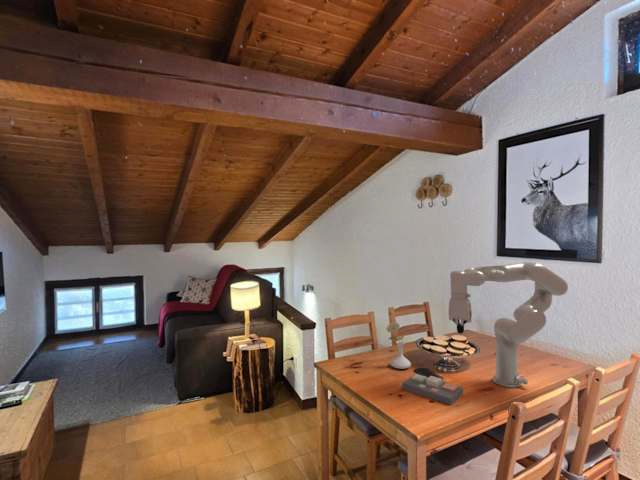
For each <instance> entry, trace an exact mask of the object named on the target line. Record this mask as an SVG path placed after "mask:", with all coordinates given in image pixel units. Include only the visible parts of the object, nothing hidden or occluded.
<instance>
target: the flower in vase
mask: <svg viewBox="0 0 640 480" xmlns="http://www.w3.org/2000/svg"><path fill="white" fill-rule="evenodd" d="M400 328H401V326H400V323H399V322H397V321H394V322H391V323H389V324H388V325H387V327H386V331H387V332H388V333H390V334H391V333H394V334H395V336H390V337H389V338H388V340H391V341H394V340H395V339H396V341H395V343H396V346H397V355H396V356H395V357H393V358H391V360H389V361H390V362H389V364H390V366H391V367H392V368H395V369H399V370H400V369H401V370H406V369H408V368H410V367H411V366H412V363H411V361H410V360H409V359H407V358H406V357H405V356H404V354H403V347H404V345H405V343H406V341H403V339H404V337H405V334H403V335H401V336H399V337H397V334H396V332H398V330H399V329H400Z"/></svg>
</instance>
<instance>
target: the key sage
mask: <svg viewBox="0 0 640 480" xmlns="http://www.w3.org/2000/svg"><path fill="white" fill-rule="evenodd" d="M415 374H416V375H415ZM415 374H414V375H412V376H413V377H412V376H411V377H412V380H414V381H417V382H420V383H423V382H425V381H426V379H427V377H425V376H422V375H418V373H415Z"/></svg>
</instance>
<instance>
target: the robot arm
mask: <svg viewBox="0 0 640 480" xmlns="http://www.w3.org/2000/svg"><path fill="white" fill-rule="evenodd" d="M526 280H527V281H533V282H534V293H533V294H532V296H531V297H530V298H529V299H528V300H526V301H525V302H523V303H522V304H521V305H519V306H518V307H517V308H516V309H515V310H513V314H512V316H513V318H514V319H515V321H514V320H513V319H511V318H508V317H501V318H498V319H497V320H496V321H495V322H494V325H493V331H494V336H495V375H493V376H492V379H491V380H492V382H493V383H495V384H496V385H499V386H501V387H505V388H515V389H516V388H519V387H521V385H522V384H523V385H526V386H527V385H528V384H529V380H527V379H526V378H523V377H521V376H520V373H518V370H519V369H518V368H519V367H518V366H519V363H518V360H519V358H518V357H519V349H518V345H520V344H524V343H526V342H527V341H528V340H529V339H531V338H532V337H533V336H534V335H536V334H538V333H539V332H541V331H542V329H543V328H544V327H545V325H546V324H547V317H546V315H545V312H546V311H547V310H548V309H549V308H550V307H551V305H552V303H553V302H552V301H553V296H556V297H557V296H563V295H565V294H566V293H567V292H568V290H569V289H568V288H569V286H568V283H567V281H566V280H565V279H564V278H562V277H561V276H559V275H558V274H557V273H556V272H553V271H552V270H551V269H549V268H548V267H546V266H544V265H543V264H541V263H536V262H530V261H525V262H515V263H508V264H502V265H490V266H488V265H487V266H478V267H470V268H465V269H464V270H453V271H451V272H450V298H449V302H448V320H449V321H452V322H453V323H454V324H455V325H456V332H457V334H463V333H464V332H465V325H466V324H468V323H472V321H473V320H472V317H473V313H472V306H471V305H472V304H471V300H470V298H471V294H469V292H468V287H469V286H471V287H480V286H482V285H484V284H485V282H496V283H510V282H517V281H518V282H519V281H526Z"/></svg>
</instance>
